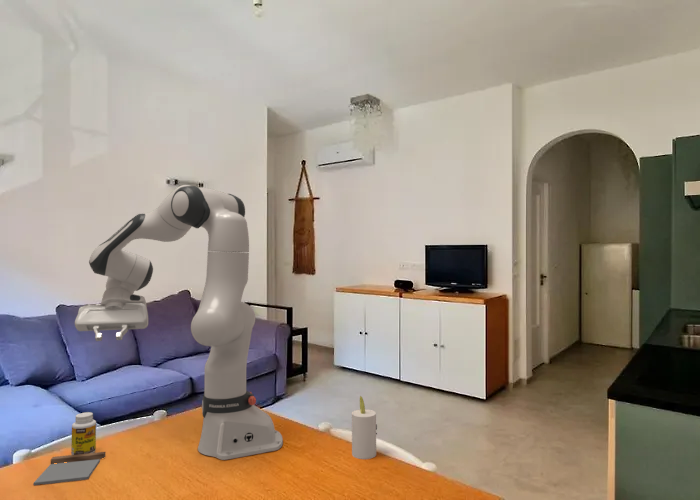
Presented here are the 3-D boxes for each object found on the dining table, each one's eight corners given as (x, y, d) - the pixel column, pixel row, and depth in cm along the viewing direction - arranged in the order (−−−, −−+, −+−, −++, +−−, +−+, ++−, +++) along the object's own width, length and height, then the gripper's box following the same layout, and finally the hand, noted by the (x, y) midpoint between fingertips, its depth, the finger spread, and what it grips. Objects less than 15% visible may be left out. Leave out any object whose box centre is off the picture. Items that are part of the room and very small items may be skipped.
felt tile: (99, 461, 115) (100, 459, 115) (87, 479, 105) (87, 476, 105) (50, 466, 112) (50, 464, 112) (33, 485, 103) (33, 482, 103)
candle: (380, 457, 116) (380, 397, 117) (356, 460, 114) (355, 400, 115) (372, 447, 122) (371, 391, 123) (349, 450, 120) (348, 393, 121)
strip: (105, 456, 118) (105, 451, 118) (103, 458, 117) (103, 454, 117) (53, 461, 115) (53, 456, 115) (50, 464, 114) (50, 459, 114)
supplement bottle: (71, 460, 116) (72, 419, 116) (70, 452, 121) (71, 413, 121) (96, 454, 119) (97, 415, 119) (94, 447, 124) (95, 409, 124)
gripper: (78, 298, 141) (66, 334, 131) (149, 296, 146) (143, 331, 137) (82, 311, 145) (71, 347, 136) (151, 309, 151) (146, 344, 141)
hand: (108, 339), depth 136 cm, fingers open, 4 cm apart
